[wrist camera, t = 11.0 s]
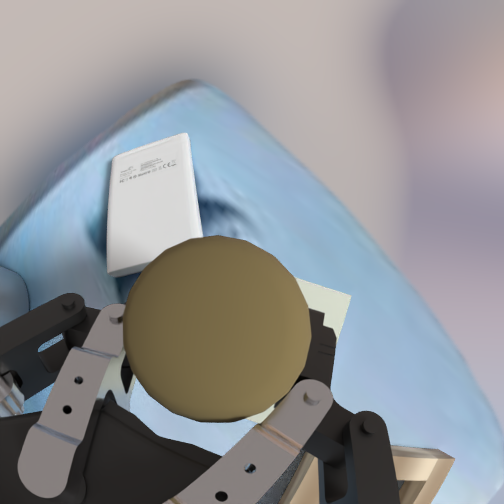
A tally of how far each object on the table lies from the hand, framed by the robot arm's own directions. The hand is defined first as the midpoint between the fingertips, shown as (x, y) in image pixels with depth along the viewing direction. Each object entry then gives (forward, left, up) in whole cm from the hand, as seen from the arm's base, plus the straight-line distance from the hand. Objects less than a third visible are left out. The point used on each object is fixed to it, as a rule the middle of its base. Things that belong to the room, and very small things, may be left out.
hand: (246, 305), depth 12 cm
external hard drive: (-12, +6, -9) cm, 16 cm away
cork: (0, -1, -5) cm, 6 cm away
